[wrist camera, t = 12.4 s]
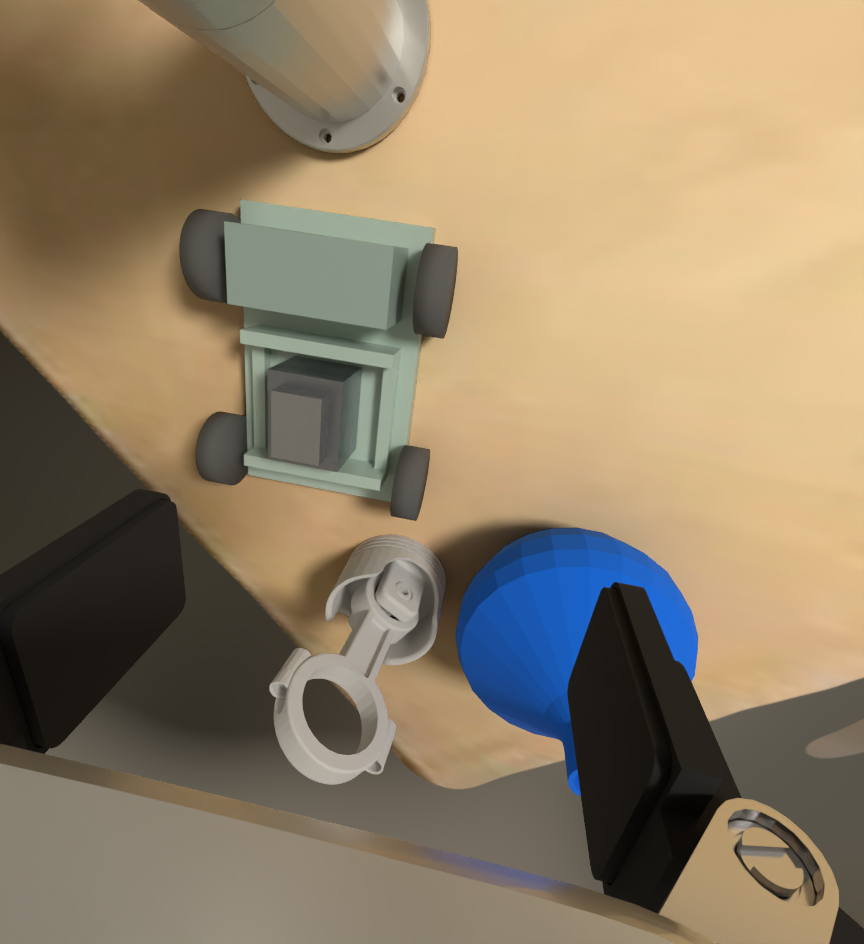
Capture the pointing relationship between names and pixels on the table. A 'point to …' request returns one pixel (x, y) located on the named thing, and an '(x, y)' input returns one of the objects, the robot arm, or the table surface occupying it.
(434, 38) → the table surface
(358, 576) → the engine component
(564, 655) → the vase
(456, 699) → the table surface
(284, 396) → the block
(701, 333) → the table surface
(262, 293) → the chassis
